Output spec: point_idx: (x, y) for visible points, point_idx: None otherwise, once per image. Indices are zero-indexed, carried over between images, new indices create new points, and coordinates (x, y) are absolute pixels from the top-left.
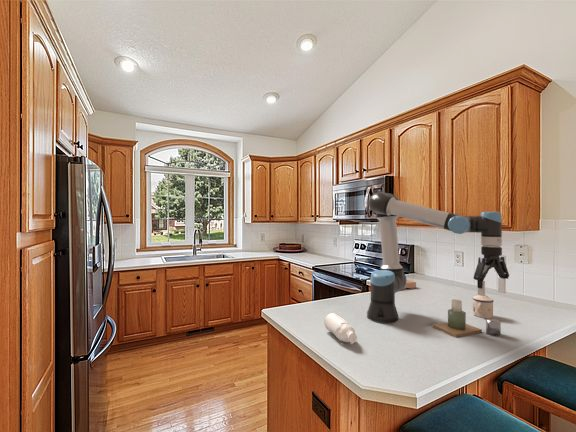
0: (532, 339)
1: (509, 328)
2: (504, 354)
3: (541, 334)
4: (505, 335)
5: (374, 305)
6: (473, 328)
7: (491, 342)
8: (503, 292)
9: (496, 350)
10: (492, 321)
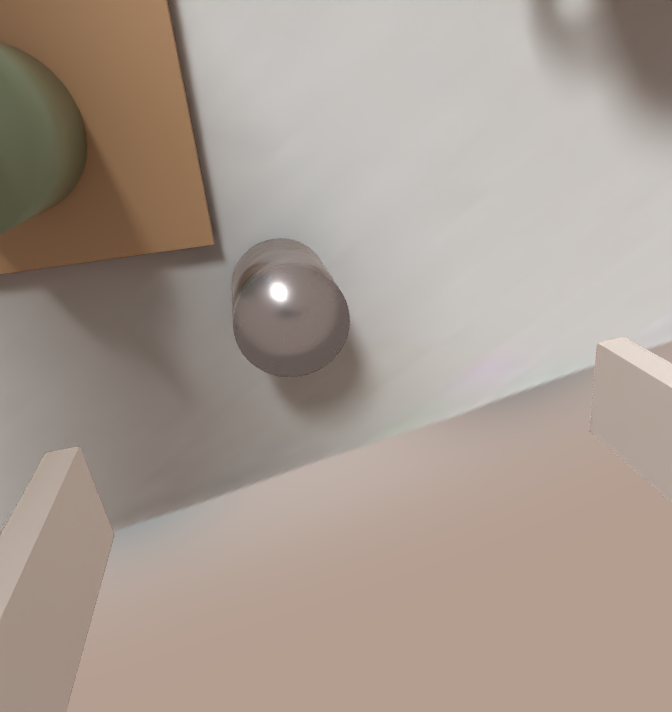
0: (452, 405)
1: (517, 216)
2: None
3: None
4: None
5: None
6: (155, 204)
7: (127, 409)
8: (598, 423)
9: None
10: (256, 347)
